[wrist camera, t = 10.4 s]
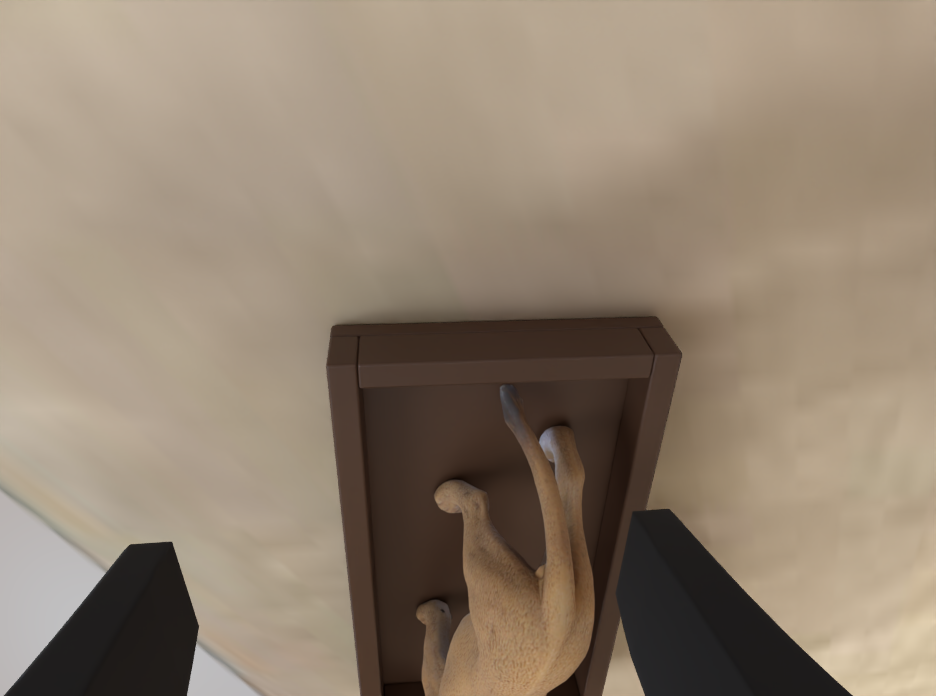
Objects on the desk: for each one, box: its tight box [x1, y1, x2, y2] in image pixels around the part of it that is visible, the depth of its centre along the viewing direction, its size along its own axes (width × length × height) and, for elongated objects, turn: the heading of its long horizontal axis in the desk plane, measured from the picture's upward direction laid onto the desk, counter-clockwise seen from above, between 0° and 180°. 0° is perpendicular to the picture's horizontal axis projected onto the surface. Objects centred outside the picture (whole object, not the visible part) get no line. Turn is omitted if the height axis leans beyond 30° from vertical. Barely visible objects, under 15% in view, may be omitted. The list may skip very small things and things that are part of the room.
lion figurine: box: [416, 384, 595, 696], centre depth 20 cm, size 15×5×9 cm, turn 178°
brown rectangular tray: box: [326, 317, 682, 696], centre depth 23 cm, size 10×18×2 cm, turn 178°
